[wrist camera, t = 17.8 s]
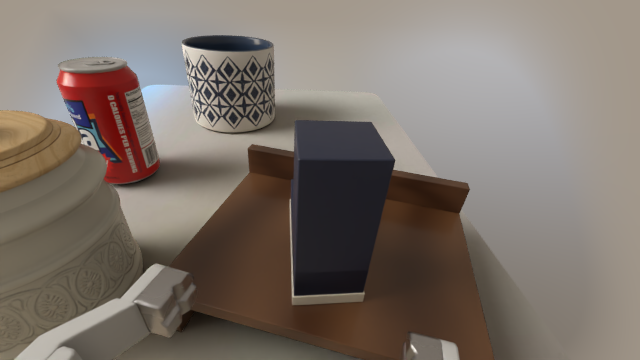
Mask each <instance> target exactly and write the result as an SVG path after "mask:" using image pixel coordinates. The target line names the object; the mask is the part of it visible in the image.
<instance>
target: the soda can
mask: <svg viewBox="0 0 640 360" xmlns="http://www.w3.org/2000/svg"><path fill="white" fill-rule="evenodd" d="M58 67H59V69H60V73H59V76H58V78H57V85H58V87H59V90H60V92H61V94H62V97H63V99H64V102H65V104H66V106H67V109H68V111H69V113H70V116H71V118H72V120H73V123H74V125H75V128H76V129H77V130H78V131H79V133H80V135H81V142H82V144H84V145H87V146H89V147H92V148H94V149H95V150H97V151H98V152H100V153H101V154H102V155H103V157H104V158H105V160H106V164H107V171H106V175H105V177H104V180H105V181H106V182H108V183H111V184H129V183H134V182H138V181H141V180H143V179H145V178H147V177H149V176H150V175H152V174H153V173H154V172H156V171H157V169H158V168H159V166H160V160H159V156H158V152H157V148H156V145H155V141H154V137H153V133H152V130H151V126H150V122H149V118H148V115H147V111H146V107H145V104H144V100H143V96H142V92H141V89H140V85H139V81H138V78H137V76H136V74H135V73H134V72H133V71H132V70H131V69H130V68H129V67H128V66H127V62H126V61H125V60H123V59H119V58H112V57H88V58H79V59H72V60H67V61H64V62H61V63H60V64H58Z"/></svg>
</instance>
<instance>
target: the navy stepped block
mask: <svg viewBox="0 0 640 360" xmlns="http://www.w3.org/2000/svg"><path fill="white" fill-rule="evenodd" d="M394 163H395V159H394V157H393V156H392V154H391V153H390V151H389V149H388V148H387V146H386V145H385V143H384V141H383V140H382V138H381V137H380V135H379V133H378V132H377V130H376V129H375V127H374V125H373V124H372V122H348V121H309V120H295V139H294V179H291V199H290V204H289V208H290V245H291V282H292V305H310V304H329V303H348V302H363V299H364V295H365V293H364V287H365V283H366V279H367V275H368V271H369V266H370V262H371V258H372V254H373V249H374V245H375V241H376V237H377V233H378V229H379V225H380V221H381V217H382V213H383V208H384V204H385V200H386V196H387V192H388V188H389V184H390V180H391V176H392V172H393V168H394Z"/></svg>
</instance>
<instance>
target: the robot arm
mask: <svg viewBox="0 0 640 360" xmlns="http://www.w3.org/2000/svg"><path fill="white" fill-rule="evenodd" d="M193 280H194V276H193V273H189V272H186V271H182V270H178V269H174V268H171V267H168V266H164V265H160V264H156V263H155V264H154V265H152V266H150V267H149V268H148V270H147V271H146V272H145V273H144V274H143V275H142V276H141V277H140V278H139V279H138V280H137V281H136V282H135V283H134V284H133V286H132V287H131V288H130V289H129V290H128V291H127V292H126V293H125V294H124V295H123V296H122V297H121V298H120V299H119V298H115V299H113V300H111V301H109V302H107V303H105V304H103V305H101V306H99V307H97V308H95V309H93V310H91V311H89V312H87V313H85V314H83V315H81V316H79V317H77V318H75V319H73V320H71V321H69V322H67V323H65V324H63V325H60V326H58V327H56V328H54V329H52V330H50V331H48V332H46V333H44V334H42V335H40V336H39V337H38V338H37V339H35V340H34V341H33V342H32V343H31V344H30V345H29V346H28V347H27V348H26V349H25V350H24V351H23V352H22V353H20V354H19V355H18V356H17V357H16V358H15V359H14V360H113V359H115V358H116V357H118V356H119V355H121V354H122V353H123V352H125V351H126V350H128V349H129V348H131V347H132V346H133V345H135V344H136V343H138V342H139V341H141V340H142V339H143V338H145V337H146V336H148V335H149V334H150V332H151V333H154V334H158V335H161V336H165V337H169V338H171V337H172V335H173V334H174V333H175V331H176V330H177V328H178V327H179V325H180V324H181V322H182V315H183V314H184V313H186V312H188V311H189V310H190V309H191V307H192V306H193V304H194V302H195V300H196V297H197V287H196V285H195V284H194V283H193ZM399 360H460V359H459V352H458V347H457V345H456V344H455V343H453V342H449V341H445V340H442V339H439V338H435V337H431V336H427V335H423V334H419V333H415V332H411V331H409V332H408V333H407V335H406V342H405V343H403V344H402V347H401V351H400V356H399Z"/></svg>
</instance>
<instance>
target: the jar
mask: <svg viewBox="0 0 640 360" xmlns="http://www.w3.org/2000/svg"><path fill="white" fill-rule="evenodd" d="M106 171H107V164H106V160H105V158H104V157H103V155H102V154H101V153H100V152H98V151H97V150H95V149H94V148H92V147H89V146H87V145H84V144H81V135H80V133H79V131H78V130H77V129H76V128H75V127H73V126H72V125H70V124H68V123H65V122H62V121H58V120H52V119H47V118H44V117H42V116H40V115H37V114H34V113H29V112H23V111H9V110H2V111H1V110H0V360H14V359H15V358H16V357H17V356H18V355H19V354H20V353H22V352H23V351H24V350H25V349H26V348H27V347H28V346H29V345H30V344H31V343H32V342H33V341H34V340H35V339H37V338H38V337H39V336H40V335H42V334H44V333H46V332H48V331H50V330H52V329H54V328H56V327H58V326H60V325H63V324H65V323H67V322H69V321H71V320H73V319H75V318H77V317H79V316H81V315H83V314H85V313H87V312H89V311H91V310H93V309H95V308H97V307H99V306H101V305H103V304H105V303H107V302H109V301H111V300H113V299H115V298H119V299H120V298H121V297H122V296H123V295H124V294H125V293H126V292H127V291H128V290H129V289H130V288H131V287H132V286H133V284H134V283H135V282H136V281H137V280H138V279H139V278H140V277H141V276H142V275H143V267H142V265H143V260H142V254H141V251H140V249H139V246H138V243H137V242H136V240H135V239H134V238H133V237H132V234H131V232H130V229H129V227H128V224H127V222H126V219H125V216H124V214H123V211H122V209H121V206H120V198H119V195H118V193H117V191H116V190H115V188H114V187H113V186H112V185H110V184H109V183H108V182H106V181H105V180H104V177H105V175H106Z"/></svg>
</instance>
